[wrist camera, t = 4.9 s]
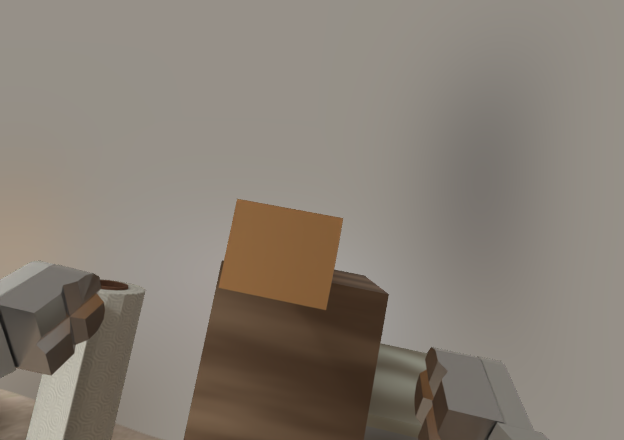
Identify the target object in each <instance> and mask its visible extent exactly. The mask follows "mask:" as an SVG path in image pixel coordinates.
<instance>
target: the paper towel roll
mask: <svg viewBox="0 0 624 440" xmlns="http://www.w3.org/2000/svg"><path fill="white" fill-rule="evenodd" d="M100 282H101V287H102V288H101V289H100V291H99V292H98V293H97V294H98V295H99V297H100V298H101V299H102V300H103V302H104V306H105V314H104V320H103V321H102V323H101V325H100V327H99V329H98V331H97V332H96V333H95V334H94V335H93V336H92V337H91V338H90V339H89V340H86V341H84V342H82V343H79V344H77V345H76V347H75V353H74V354H73V355H72V356H71V357H70V358H69V359H68V360H67V361H66V362H65V363H64V364H63V365H62V366H61V367H60V368H59V369H58V370H57V371H56V372H55V373H54V374H53V375H52V376H50V375H46V374H42V378H41V382H40V386H39V390H38V394H37V398H36V402H35V406H34V410H33V414H32V418H31V422H30V426H29V430H28V434H27V438H26V440H111V438H112V433H113V429H114V425H115V420H116V416H117V412H118V407H119V403H120V399H121V394H122V389H123V386H124V381H125V377H126V372H127V368H128V363H129V360H130V355H131V351H132V346H133V342H134V338H135V333H136V329H137V325H138V320H139V316H140V312H141V307H142V303H143V299H144V294H145V289H143V288H142V287H140V286H137V285H134V284H129V283H124V282H119V281H111V280H101V279H100Z"/></svg>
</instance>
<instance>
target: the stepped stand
mask: <svg viewBox="0 0 624 440" xmlns="http://www.w3.org/2000/svg"><path fill="white" fill-rule="evenodd" d="M223 264H224V261H222V263H221V267H220V272H219V277H218V281H217V286H216V291H215V295H214V300H213V305H212V309H211V314H210V319H209V323H208V328H207V333H206V338H205V342H204V347H203V352H202V356H201V361H200V366H199V371H198V375H197V380H196V384H195V389H194V394H193V398H192V403H191V408H190V413H189V417H188V422H187V427H186V431H185V436H184V440H418V435H419V432H420V430H421V427H422V425H421V424H420V422H419V421H418V420H417V418H416V416H415V406H414V396H415V389H416V383H417V380H418V377H419V374H420V373H421V372H423V371H425V370H426V362H425V358H426V356H427V353H422V352H418V351H413V350H409V349H404V348H399V347H394V346H390V345H385V344H380V341H381V336H382V330H383V324H384V319H385V312H386V307H387V301H388V295H389V294H388V293H386V292H385V291H384V290H382V289H381V288H380V287H379V286H377V285H376V284H375V283H373V282H372V281H371V280H369V279H368V278H367V277H366V276H364V275H358V274H354V273H348V272H343V271H338V270H334V273H333V278H332V283H331V288H330V293H329V298H328V303H327V308H326V310H323V309H318V308H313V307H309V306H304V305H299V304H294V303H289V302H285V301H280V300H275V299H270V298H265V297H261V296H256V295H251V294H246V293H241V292H237V291H232V290H227V289H222V288H218V287H219V282H220V278H221V273H222V268H223Z"/></svg>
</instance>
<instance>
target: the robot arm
mask: <svg viewBox="0 0 624 440" xmlns="http://www.w3.org/2000/svg"><path fill="white" fill-rule="evenodd" d="M101 288H102V287H101V282H100V278H99V276H97V275H95V274H93V273H90V272H85V271H81V270H77V269H73V268H69V267H65V266H61V265H55V264H51V263H47V262H43V261H34V262H30V263H28V264H26V265H25V266H23V267H21V268H19V269H18V270H16V271H14V272H13V273H11V274H9V275H7V276H5V277H4V278H2V279H0V378H2V377H4V376H5V375H7V374H10V373H12V372H14V371H15V370H16V368H18V369H23V370H28V371H32V372H37V373H41V374H46V375H50V376H52V375H53V374H54V373H55V372H56V371H57V370H58V369H59V368H60V367H61V366H62V365H63V364H64V363H65V362H66V361H67V360H68V359H69V358H70V357H71V356H72V355H73V354H74V353H75V347H76V345H77V344H79V343H82V342H84V341H86V340H89V339H90V338H91V337H92V336H93V335H94V334H95V333H96V332H97V331H98V329H99V327H100V325H101V323H102V321H103V320H104V314H105V306H104V302H103V300H102V299H101V298H100V297H99V295H98V294H97V293H98V292H99V291H100V289H101ZM425 362H426V370H425V371H423V372H421V373H420V374H419V377H418V380H417V383H416V389H415V396H414V406H415V416H416V418H417V420H418V421H419V422H420V424H421V425H422V427H421V430H420V432H419V435H418V440H549V439H548V438H547V437H546V436H545V435H544V434H543V433H540V432H537V431H534V429H533V427H532V424H531V422H530V420H529V418H528V415H527V413H526V411H525V409H524V406H523V404H522V402H521V400H520V397H519V395H518V393H517V391H516V388H515V386H514V384H513V382H512V379H511V377H510V375H509V373H508V370H507V368H506V366H505V365H504V364H503V363H502V362H501V361H498V360H493V359H488V358H483V357H475V356H471V355H467V354H462V353H457V352H452V351H448V350H443V349H438V348H434V347H431V348H430V350H429V351H428V353H427V356H426V358H425Z"/></svg>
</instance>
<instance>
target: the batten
mask: <svg viewBox="0 0 624 440" xmlns="http://www.w3.org/2000/svg"><path fill="white" fill-rule="evenodd" d="M342 222H343V218H339V217H333V216H328V215H322V214H317V213H312V212H306V211H301V210H295V209H289V208H284V207H279V206H274V205H268V204H262V203H257V202H251V201H246V200H241V199H237V203H236V207H235V212H234V217H233V221H232V226H231V231H230V236H229V241H228V245H227V250H226V254H225V259H224V264H223V268H222V273H221V278H220V282H219V287H218V288H222V289H227V290H232V291H237V292H241V293H246V294H251V295H256V296H261V297H265V298H270V299H275V300H280V301H285V302H289V303H294V304H299V305H304V306H309V307H313V308H318V309H323V310H326V308H327V303H328V298H329V293H330V288H331V283H332V278H333V273H334V267H335V261H336V257H337V251H338V245H339V240H340V234H341V228H342Z"/></svg>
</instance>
